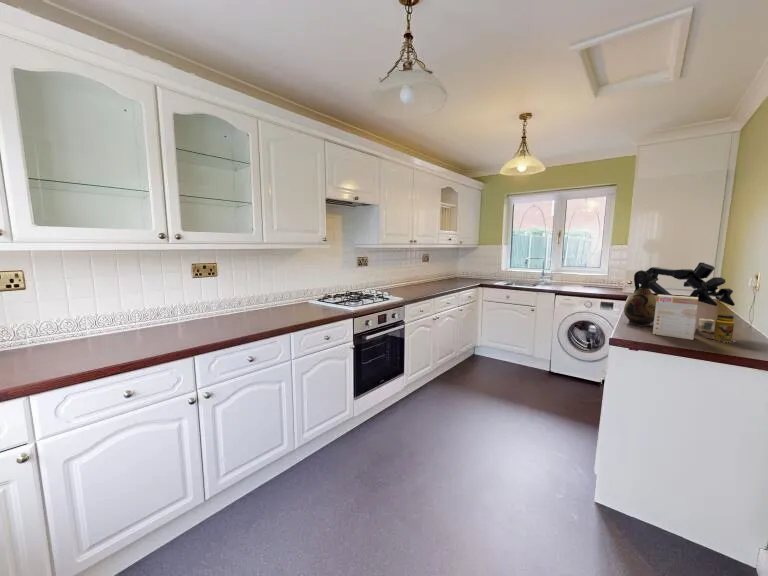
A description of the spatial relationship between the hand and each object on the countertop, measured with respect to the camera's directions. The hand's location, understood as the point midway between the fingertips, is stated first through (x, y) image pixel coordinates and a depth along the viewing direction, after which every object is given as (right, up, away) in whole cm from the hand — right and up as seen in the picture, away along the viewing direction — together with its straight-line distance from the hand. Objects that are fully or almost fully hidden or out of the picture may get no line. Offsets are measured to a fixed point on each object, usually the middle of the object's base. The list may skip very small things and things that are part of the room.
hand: (725, 305), depth 162 cm
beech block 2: (+1, -14, +11) cm, 18 cm away
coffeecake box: (-25, -15, 0) cm, 29 cm away
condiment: (-9, -16, -6) cm, 19 cm away
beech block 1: (-9, -14, +10) cm, 19 cm away
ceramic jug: (-23, -12, +26) cm, 36 cm away
